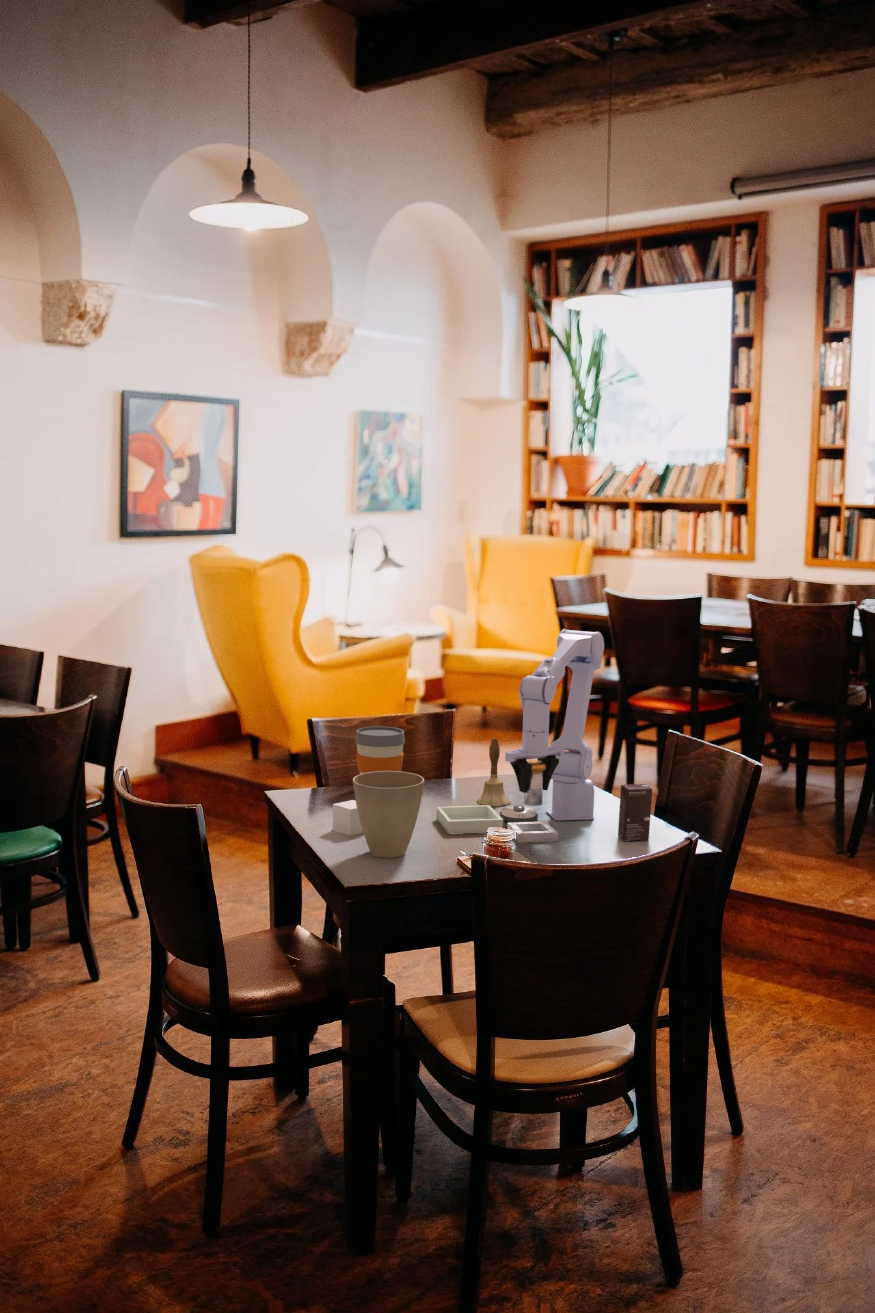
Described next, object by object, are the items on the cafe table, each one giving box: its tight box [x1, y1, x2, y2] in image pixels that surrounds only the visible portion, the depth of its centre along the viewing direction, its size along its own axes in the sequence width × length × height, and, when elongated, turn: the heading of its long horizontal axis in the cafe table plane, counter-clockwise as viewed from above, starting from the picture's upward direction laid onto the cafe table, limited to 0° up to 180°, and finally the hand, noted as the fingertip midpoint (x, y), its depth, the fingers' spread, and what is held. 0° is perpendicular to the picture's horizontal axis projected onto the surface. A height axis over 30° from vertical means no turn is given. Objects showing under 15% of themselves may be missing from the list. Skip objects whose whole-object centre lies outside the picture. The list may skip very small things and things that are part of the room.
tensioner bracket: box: [499, 804, 559, 844], centre depth 277 cm, size 9×20×4 cm, turn 12°
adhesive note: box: [332, 799, 364, 837], centre depth 273 cm, size 6×6×6 cm
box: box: [617, 783, 653, 842], centre depth 271 cm, size 6×4×12 cm
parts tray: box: [435, 804, 504, 835], centre depth 279 cm, size 13×13×3 cm
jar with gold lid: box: [523, 759, 546, 807], centre depth 271 cm, size 5×5×9 cm
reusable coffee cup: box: [355, 726, 406, 774], centre depth 310 cm, size 13×12×15 cm
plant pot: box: [352, 770, 425, 859], centre depth 256 cm, size 15×15×16 cm
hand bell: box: [476, 737, 511, 807], centre depth 300 cm, size 8×8×16 cm
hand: (533, 790), depth 271 cm, fingers closed on jar with gold lid, 5 cm apart
